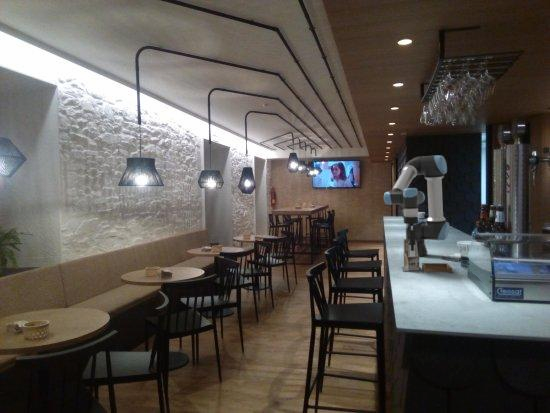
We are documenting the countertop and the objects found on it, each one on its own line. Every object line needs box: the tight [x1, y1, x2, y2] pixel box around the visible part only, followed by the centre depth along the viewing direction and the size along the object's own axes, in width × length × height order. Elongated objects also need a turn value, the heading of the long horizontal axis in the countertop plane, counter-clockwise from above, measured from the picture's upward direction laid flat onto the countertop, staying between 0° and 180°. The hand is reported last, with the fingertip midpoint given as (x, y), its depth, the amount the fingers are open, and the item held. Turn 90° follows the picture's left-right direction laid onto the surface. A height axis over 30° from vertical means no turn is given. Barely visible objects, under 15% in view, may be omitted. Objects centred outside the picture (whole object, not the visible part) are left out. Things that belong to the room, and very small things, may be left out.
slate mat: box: [401, 266, 423, 273], centre depth 237 cm, size 12×10×1 cm
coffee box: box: [403, 238, 420, 270], centre depth 237 cm, size 9×6×16 cm
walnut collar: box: [421, 262, 453, 274], centre depth 234 cm, size 14×14×2 cm
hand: (411, 254), depth 237 cm, fingers open, 13 cm apart
